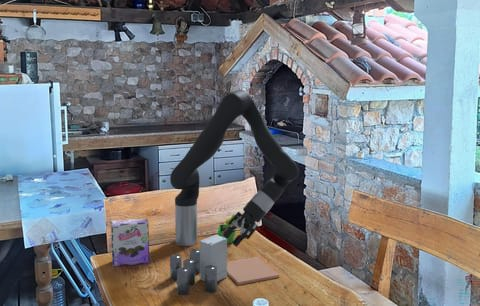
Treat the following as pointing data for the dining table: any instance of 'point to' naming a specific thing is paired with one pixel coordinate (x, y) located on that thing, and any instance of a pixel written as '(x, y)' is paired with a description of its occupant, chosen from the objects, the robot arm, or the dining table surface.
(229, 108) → the robot arm
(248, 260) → the terracotta tile
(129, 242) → the candy box
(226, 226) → the potted cactus
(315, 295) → the dining table surface
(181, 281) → the posts
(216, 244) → the skincare box
